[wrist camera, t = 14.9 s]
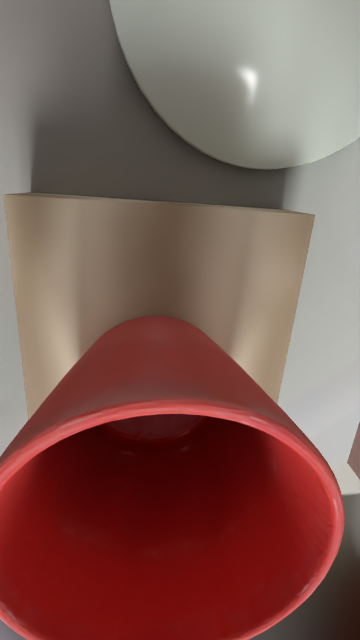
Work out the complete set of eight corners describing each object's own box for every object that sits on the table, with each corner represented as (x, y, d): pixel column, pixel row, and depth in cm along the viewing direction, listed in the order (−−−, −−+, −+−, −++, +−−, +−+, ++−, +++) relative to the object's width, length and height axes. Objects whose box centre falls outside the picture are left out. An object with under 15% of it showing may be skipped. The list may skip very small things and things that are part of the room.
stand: (49, 412, 23) (32, 456, 20) (30, 192, 18) (3, 194, 14) (248, 409, 25) (267, 448, 21) (282, 209, 20) (315, 214, 16)
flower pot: (84, 477, 21) (43, 704, 12) (20, 308, 16) (-123, 459, 7) (256, 438, 21) (345, 629, 12) (236, 264, 17) (350, 356, 8)
